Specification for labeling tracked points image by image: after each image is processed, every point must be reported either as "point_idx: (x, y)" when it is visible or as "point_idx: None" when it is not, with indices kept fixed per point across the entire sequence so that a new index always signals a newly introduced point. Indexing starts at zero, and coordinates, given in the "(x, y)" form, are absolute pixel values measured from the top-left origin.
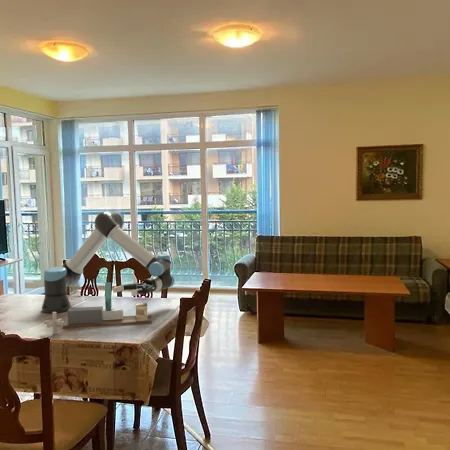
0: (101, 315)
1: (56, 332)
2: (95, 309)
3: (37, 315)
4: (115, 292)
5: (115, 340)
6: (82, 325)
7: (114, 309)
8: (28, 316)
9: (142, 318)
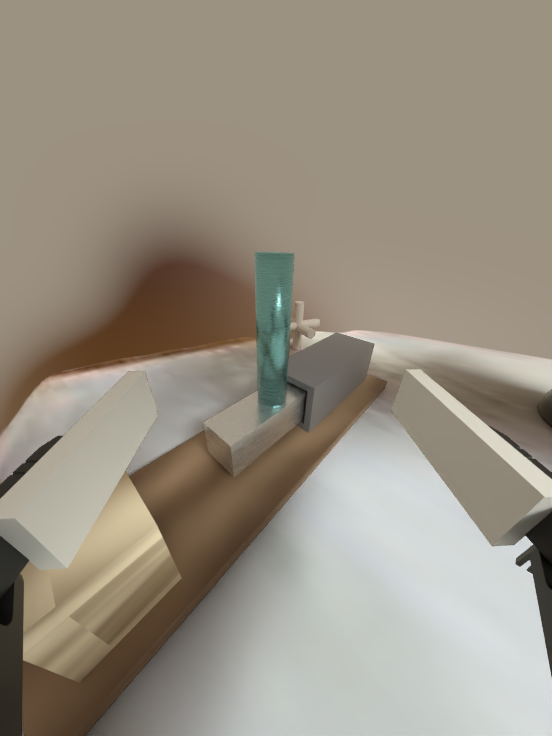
0: None
1: (292, 345)
2: (289, 359)
3: (512, 382)
4: (399, 419)
5: (132, 368)
6: None
7: (255, 412)
8: (503, 370)
9: None
